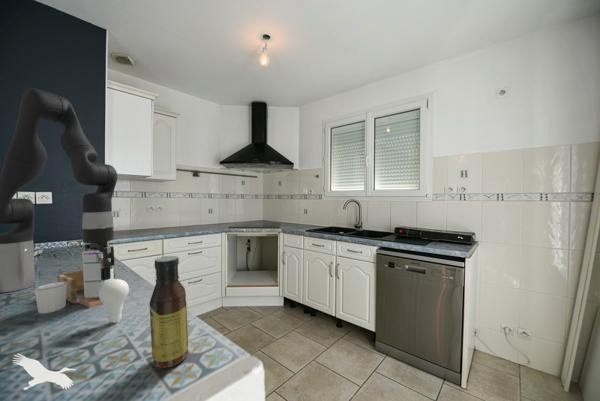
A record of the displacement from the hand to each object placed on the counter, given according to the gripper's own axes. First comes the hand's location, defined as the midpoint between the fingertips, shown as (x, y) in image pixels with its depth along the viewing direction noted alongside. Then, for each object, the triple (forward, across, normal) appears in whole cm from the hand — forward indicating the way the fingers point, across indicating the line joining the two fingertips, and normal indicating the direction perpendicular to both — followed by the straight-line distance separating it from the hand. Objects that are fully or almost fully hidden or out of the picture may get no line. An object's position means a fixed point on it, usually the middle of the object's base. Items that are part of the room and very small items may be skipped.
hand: (99, 277), depth 77 cm
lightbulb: (+7, +21, -5) cm, 23 cm away
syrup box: (+5, 0, 0) cm, 5 cm away
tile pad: (+7, 0, 0) cm, 7 cm away
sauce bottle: (+7, +48, -7) cm, 49 cm away
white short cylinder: (+7, -6, -10) cm, 13 cm away
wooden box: (+7, -11, 0) cm, 13 cm away
